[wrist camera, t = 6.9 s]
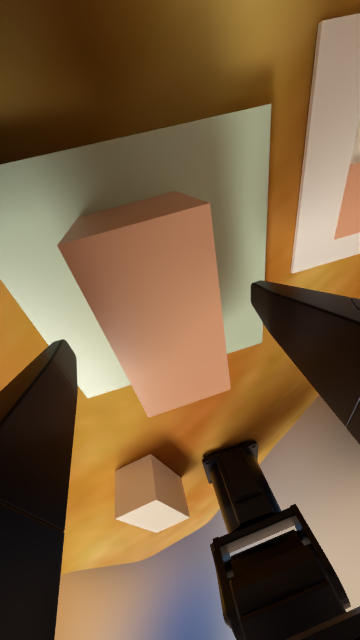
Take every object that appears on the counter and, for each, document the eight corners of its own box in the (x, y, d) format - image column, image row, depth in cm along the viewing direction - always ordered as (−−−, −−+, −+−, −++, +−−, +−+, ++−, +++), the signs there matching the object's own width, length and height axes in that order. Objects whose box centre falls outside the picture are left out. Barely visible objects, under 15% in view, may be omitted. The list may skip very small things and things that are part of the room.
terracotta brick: (203, 337, 14) (230, 389, 11) (140, 357, 13) (148, 417, 10) (176, 190, 9) (209, 203, 6) (78, 217, 9) (56, 245, 6)
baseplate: (253, 332, 16) (262, 342, 15) (89, 383, 15) (87, 398, 14) (254, 110, 9) (271, 103, 8) (-50, 179, 8) (-72, 180, 7)
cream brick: (180, 476, 27) (189, 517, 24) (151, 489, 27) (156, 532, 24) (150, 452, 22) (156, 499, 19) (115, 468, 23) (115, 518, 19)
